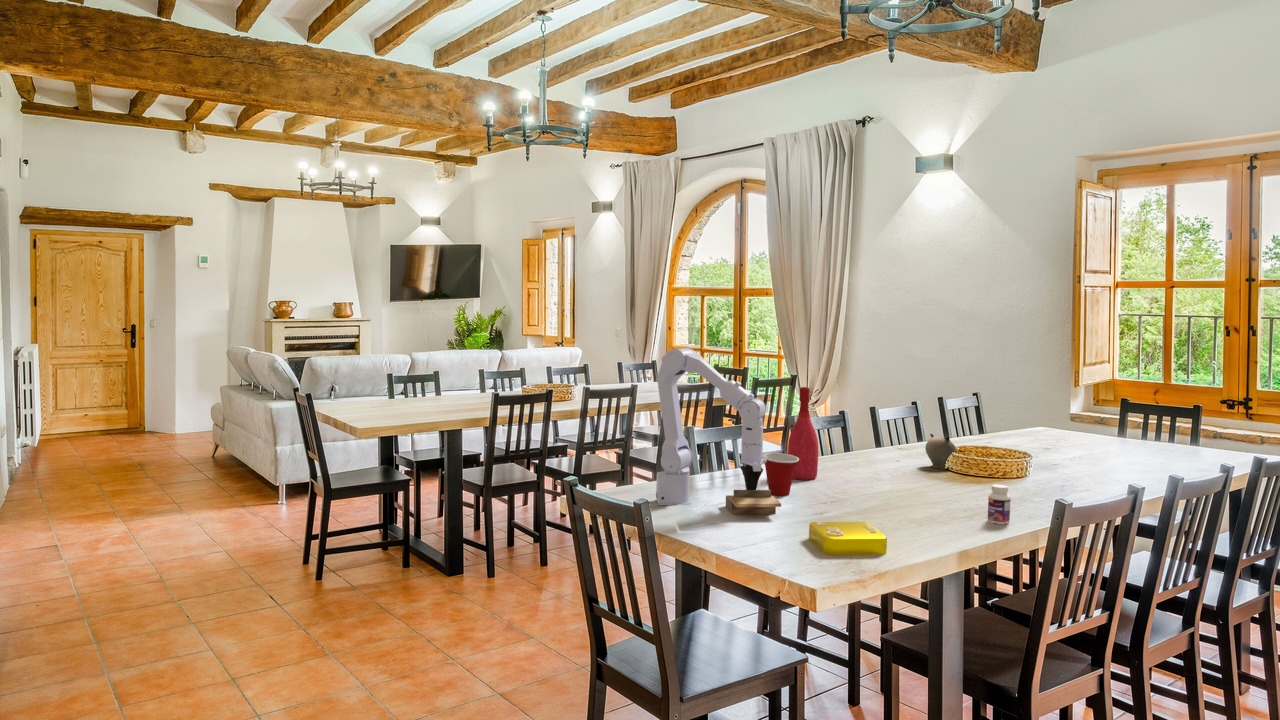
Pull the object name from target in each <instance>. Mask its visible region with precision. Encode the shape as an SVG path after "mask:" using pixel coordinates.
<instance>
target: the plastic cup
mask: <svg viewBox="0 0 1280 720" xmlns="http://www.w3.org/2000/svg"><path fill="white" fill-rule="evenodd" d="M762 459H766V460H767V462H763V463H764V466H765V475H766V482H767V488H768V489H767V490H771V496H774V497H775V496H776V497H787V496H789V495H790V493H791V487H792V485H793V484H792V483H793V475H794V470H795V467H796V464H797V462H798V461H799V458H797V457H795V456H792V455H788V453H781V452H768V453H764V454H763V453H762Z"/></svg>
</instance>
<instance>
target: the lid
mask: <svg viewBox="0 0 1280 720" xmlns="http://www.w3.org/2000/svg"><path fill="white" fill-rule="evenodd" d="M733 495H734V496H730V500H731V501H732V503H733V504H734V505H735V506H736V507H776V508H781V507H782V503H781V502H780V501H779V499H777V498H776V497H775V496H773V495H771V490H769V489H756V490H746V489H733Z"/></svg>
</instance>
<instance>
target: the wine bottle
mask: <svg viewBox="0 0 1280 720" xmlns="http://www.w3.org/2000/svg"><path fill="white" fill-rule="evenodd" d="M810 390H811V389H810V387H807V386H802V387H800V388H799V398H798V399H799V402H800V404H799V412H798V415H797V418H796V421H795V423H794V425H793V428H792V429H791V431H790V434H789V437H788V443H787V444H788V445H787V454H788V455H792V456H795V457H797V458H799V461H798V462H797V464H796V467H795V470H794V475H793V479H794V480H801V481H810V480H814V479H816V478H817V477H818V471H819V470H818V465H819V439H818V436H817V433H816V430H815V426H814V425H813V421H812V419H811V414H810V411H809V410H810V409H809V402H810V392H811V391H810ZM793 479H792V480H793Z"/></svg>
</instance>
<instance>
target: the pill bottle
mask: <svg viewBox="0 0 1280 720" xmlns="http://www.w3.org/2000/svg"><path fill="white" fill-rule="evenodd" d="M1008 491H1009V486H1008V485H1006V484H991V492H990V493H989V494H988V503H987V521H988V522H989V521H990V522H989V523H991V522H993V523H992V524H994V522H995V523H1008V524H1009V523H1010V516H1011V500H1012V498H1011V495H1010V494H1008V493H1009V492H1008Z"/></svg>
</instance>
